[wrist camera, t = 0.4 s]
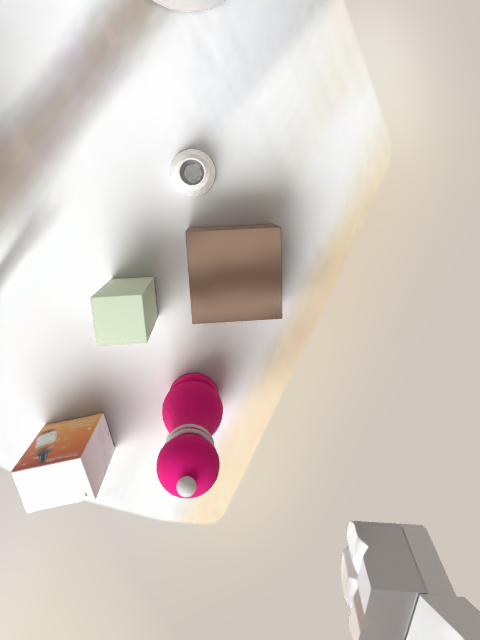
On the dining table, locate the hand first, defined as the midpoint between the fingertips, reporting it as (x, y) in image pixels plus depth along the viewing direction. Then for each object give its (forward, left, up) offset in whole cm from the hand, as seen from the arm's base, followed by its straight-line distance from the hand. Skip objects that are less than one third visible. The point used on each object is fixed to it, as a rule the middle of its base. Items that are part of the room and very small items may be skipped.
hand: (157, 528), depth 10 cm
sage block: (+5, -8, -47) cm, 48 cm away
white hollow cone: (-9, 0, -47) cm, 48 cm away
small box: (+23, -17, -47) cm, 55 cm away
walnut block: (+2, +4, -47) cm, 47 cm away
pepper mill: (+18, -2, -47) cm, 50 cm away
